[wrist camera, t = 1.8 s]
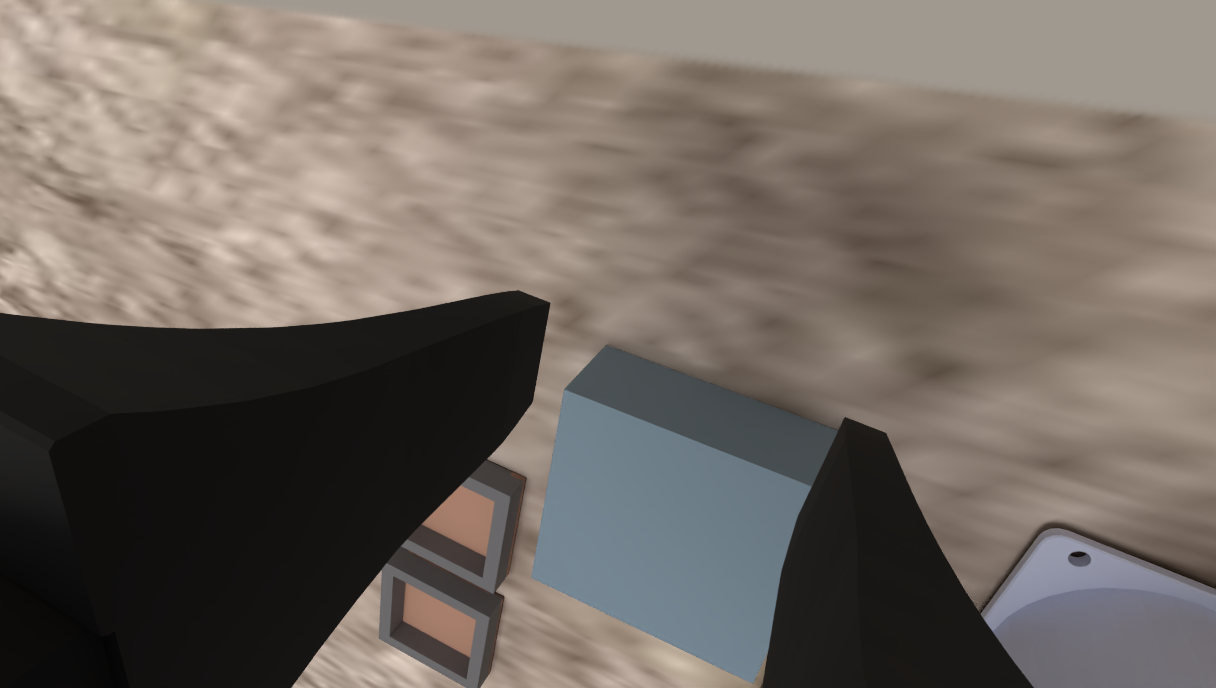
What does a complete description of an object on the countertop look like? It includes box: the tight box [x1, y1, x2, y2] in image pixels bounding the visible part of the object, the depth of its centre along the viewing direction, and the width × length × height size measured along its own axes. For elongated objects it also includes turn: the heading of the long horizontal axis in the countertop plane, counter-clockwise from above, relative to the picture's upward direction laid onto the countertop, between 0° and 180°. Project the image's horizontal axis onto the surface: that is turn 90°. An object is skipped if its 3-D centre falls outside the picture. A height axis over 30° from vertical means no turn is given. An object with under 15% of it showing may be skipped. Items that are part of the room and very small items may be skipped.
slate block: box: [531, 345, 838, 684], centre depth 22 cm, size 8×8×4 cm
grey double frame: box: [379, 460, 526, 688], centre depth 29 cm, size 6×12×1 cm, turn 168°
